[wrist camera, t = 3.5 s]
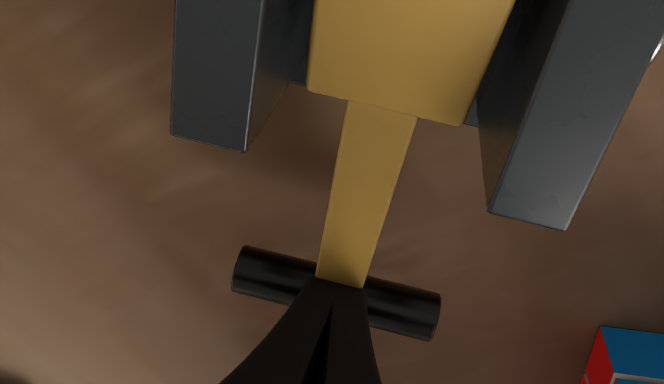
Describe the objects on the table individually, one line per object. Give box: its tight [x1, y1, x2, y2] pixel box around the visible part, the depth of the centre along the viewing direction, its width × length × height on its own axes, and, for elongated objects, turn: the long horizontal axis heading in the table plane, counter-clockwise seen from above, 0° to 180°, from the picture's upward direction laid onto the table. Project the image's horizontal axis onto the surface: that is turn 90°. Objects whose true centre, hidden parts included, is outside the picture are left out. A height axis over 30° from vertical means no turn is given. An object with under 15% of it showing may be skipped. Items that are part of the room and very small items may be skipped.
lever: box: [231, 0, 516, 342], centre depth 11 cm, size 11×5×2 cm, turn 170°
